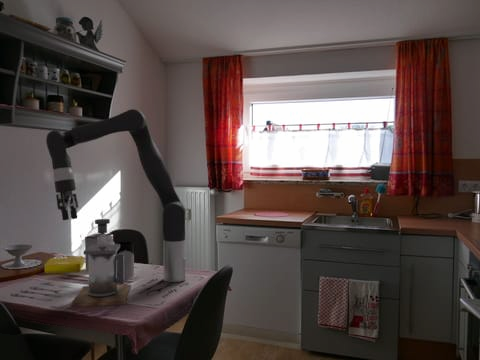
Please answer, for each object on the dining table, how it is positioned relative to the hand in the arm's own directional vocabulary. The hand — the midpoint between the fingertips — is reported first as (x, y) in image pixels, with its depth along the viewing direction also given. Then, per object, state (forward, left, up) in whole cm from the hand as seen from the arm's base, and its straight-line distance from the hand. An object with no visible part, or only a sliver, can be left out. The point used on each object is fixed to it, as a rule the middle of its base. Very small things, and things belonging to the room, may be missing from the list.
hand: (70, 219), depth 164 cm
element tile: (+10, -26, -28) cm, 39 cm away
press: (-17, +16, -25) cm, 34 cm away
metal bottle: (-15, -2, -27) cm, 31 cm away
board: (-15, +16, -27) cm, 35 cm away
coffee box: (-6, -23, -27) cm, 36 cm away
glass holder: (-19, -11, -27) cm, 35 cm away
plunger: (-15, +16, -9) cm, 24 cm away
